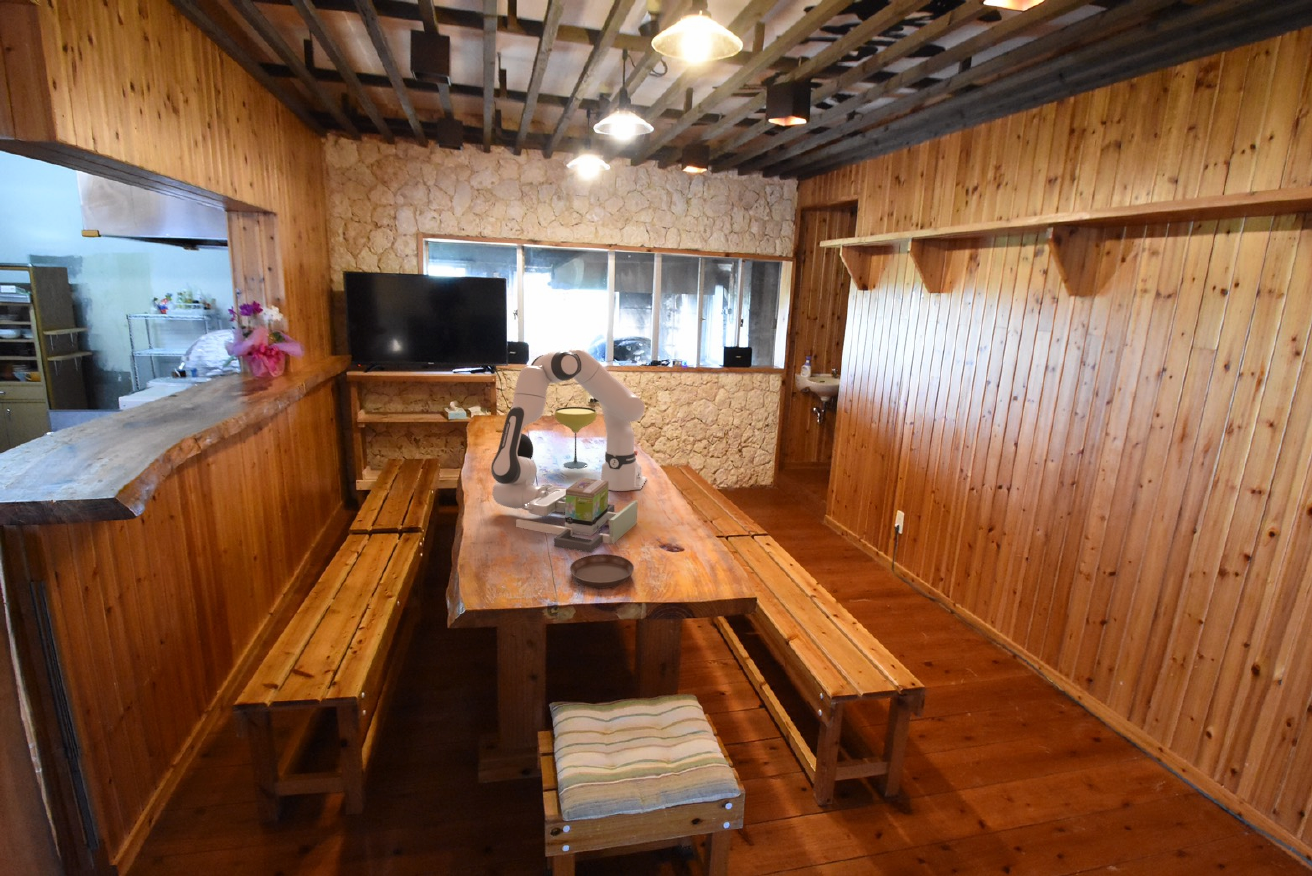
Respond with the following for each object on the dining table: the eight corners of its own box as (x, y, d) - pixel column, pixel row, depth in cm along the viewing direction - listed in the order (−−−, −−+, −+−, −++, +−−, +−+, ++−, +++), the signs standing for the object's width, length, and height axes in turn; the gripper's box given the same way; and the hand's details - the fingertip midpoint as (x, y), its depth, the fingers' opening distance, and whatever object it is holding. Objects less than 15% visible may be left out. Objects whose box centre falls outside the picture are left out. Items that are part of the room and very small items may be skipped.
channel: (547, 508, 229) (546, 487, 227) (636, 523, 217) (637, 500, 216) (516, 527, 210) (515, 504, 208) (612, 544, 199) (613, 520, 197)
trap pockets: (583, 506, 232) (583, 500, 231) (635, 514, 225) (635, 508, 225) (531, 541, 198) (531, 534, 198) (590, 552, 192) (590, 544, 191)
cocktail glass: (602, 463, 290) (603, 409, 284) (582, 473, 274) (582, 416, 268) (569, 458, 297) (569, 405, 291) (547, 467, 281) (546, 411, 275)
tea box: (593, 536, 204) (593, 492, 201) (563, 532, 207) (564, 489, 203) (608, 521, 218) (609, 479, 215) (580, 517, 221) (581, 476, 218)
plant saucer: (609, 597, 165) (609, 587, 164) (556, 580, 174) (556, 569, 173) (645, 573, 180) (646, 563, 179) (595, 558, 188) (595, 549, 188)
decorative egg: (499, 468, 276) (498, 434, 273) (513, 461, 288) (513, 429, 284) (525, 471, 273) (524, 437, 269) (538, 464, 284) (538, 431, 281)
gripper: (520, 499, 207) (557, 505, 202) (551, 482, 226) (586, 487, 221) (520, 517, 208) (557, 523, 204) (551, 499, 227) (586, 504, 223)
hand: (572, 504), depth 213 cm, fingers closed
